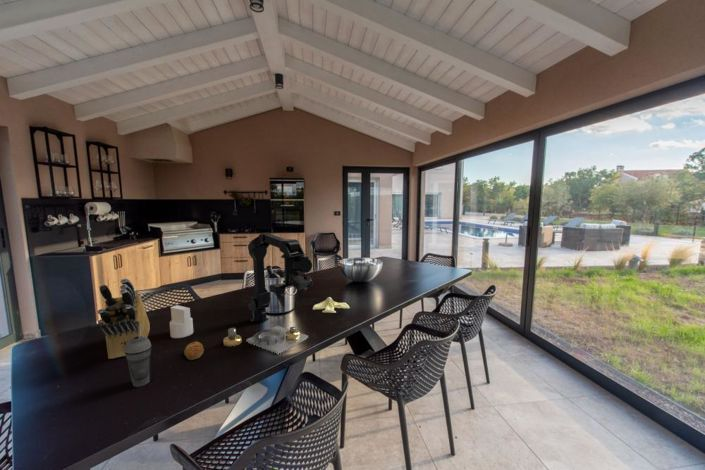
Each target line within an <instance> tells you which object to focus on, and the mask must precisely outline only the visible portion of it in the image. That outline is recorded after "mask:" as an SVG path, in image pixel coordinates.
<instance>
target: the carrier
mask: <svg viewBox="0 0 705 470" xmlns="http://www.w3.org/2000/svg"><path fill="white" fill-rule="evenodd" d="M307 338H308V339H309V335H308V334H305V333H301V331H300V330H299V329H296V326H290V327H289V328H286V327H282V326H279V325H275V326H274V327H271V328H269V329H264V330H260V331H257V332H256V333H255V334H253V336H251V337H248V338H247V339H246V343H247V342H248V344H250V345H252V344H253V345H252V346H255V345H256V346H255V347H257V346H258V348H260V347H261V348H260V349H263V350H265V349H266V351H268V350H269V351H268V352H270V351H271V353H273V352H274V353H273V354H275V353H276V354H275V355H280V354H282V353H284V352H285V350H286V351H287V350H289V349H291V348H292V346H293V347H295V346H296V344H297V345H299V344H300V343H302V342H304V341H306V340H308V339H307ZM294 345H295V346H294ZM290 347H291V348H290ZM288 348H289V349H288ZM283 351H284V352H283ZM281 352H282V353H281ZM279 353H280V354H279Z"/></svg>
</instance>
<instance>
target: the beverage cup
mask: <svg viewBox="0 0 705 470" xmlns="http://www.w3.org/2000/svg"><path fill="white" fill-rule="evenodd" d="M152 348H153V347H152V343H151V341H150V339H149V338H148V337H147V338H146V337H143V336H141V324H139V336H137V337H134V338H132V339H131V340H130V341H129V342H128V343H127V345H126V347H125V355H126V356H125V358H126V360H127V363H128V370H129V375H130V379H131V382H132V386H133V387H136V388H139V387H142V386H143V387H144V386H145V385H147V384H148V383H150V378H151V377H150V376H151V353H152Z"/></svg>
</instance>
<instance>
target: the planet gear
mask: <svg viewBox="0 0 705 470" xmlns="http://www.w3.org/2000/svg"><path fill="white" fill-rule="evenodd" d="M227 333H228V336H225V337H224V338H223V346H224V347H226V346H227V348H228V347H231V348H232V346H233V347H236V345H237V346H238V345H241V343H242V341H243V340H242V336H241V335H239V334H237V328H236V327H230V328H228V329H227Z"/></svg>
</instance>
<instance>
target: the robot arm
mask: <svg viewBox="0 0 705 470" xmlns="http://www.w3.org/2000/svg"><path fill="white" fill-rule="evenodd" d="M269 246H271V247H275V248H277V249H279V252H281V253H282V255H281V257H280V258H281V259H283V261H284V266H283V267H284V269H283V271H282V274H283V275H284V280H282V283H283V284H281V283H273V284H270V286H269V291H268V289H267V288H266V276H265V273H266V272H265V257H266V255H267V253H268V248H269ZM247 250H248V254H249V256H250V258H251V259H252V265H253V266H252V267H253V280H254V281H253V282H254V289H253V292H252V293H251V300H250V301H249V303H248V305H247V307H248V310H249V311H251V312H252V319H250V320H249V321H250V322H252V323H254V324H257V325H258V324H261V323H264V322H267V321H269V318H268V317H267V311H266V308H270V304H271V300H272V299H271V293H272V294H274V295H275V296H276V297H277V300H278V302H279V304H280V305H281V307H282V308H285V295H286V292H285V291H286V289H290V288H295V290H297V294H298V295H297V296H298V300H299V301H298V302H299V303H301V302H303V299H304V296H305V293H306V291H307V289H309V288H310V287H311V286H313V280H312V278H311V277H310V276H309V275H305V276H304V275H303V276H302V275H301V273H304V274H308V273H309V272H311V271H312V269H313V262H312V261H311V259H309V256H308V255H306V254H305V251H304V249H303V247H302V245H301V243H300V241H299V240H298V239H296V238H295V239H293V238H283V237H280V236H277V235H274V234H272V233H271V232H262V233H260V234H258V236H257V237H255V238H254V239H253V238H252V240H251V241H250V242H249V243H248V246H247Z"/></svg>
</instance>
